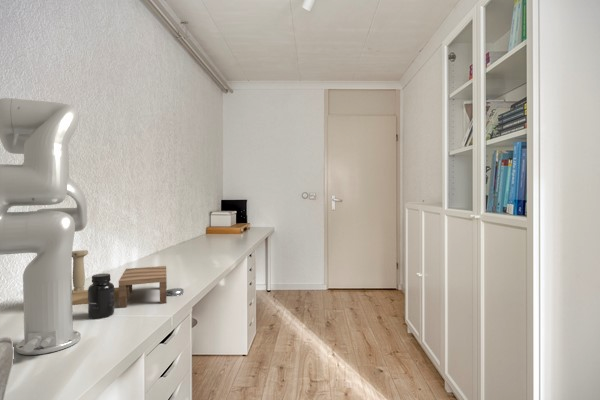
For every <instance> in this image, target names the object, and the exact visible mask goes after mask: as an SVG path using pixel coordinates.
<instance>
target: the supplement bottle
mask: <svg viewBox="0 0 600 400" xmlns="http://www.w3.org/2000/svg"><path fill="white" fill-rule="evenodd" d="M114 288H115V286H114V283H112V282H111V274H110V273H95V274H93V275H91V284H90V285H89V286H88V288H87V290H88V304H87V314H88V315H87V316H88V317H89V318H90V319H105V318H109V317H111V316H113V315H114V313H115V301H114Z"/></svg>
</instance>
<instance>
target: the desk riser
mask: <svg viewBox="0 0 600 400" xmlns="http://www.w3.org/2000/svg"><path fill="white" fill-rule="evenodd" d="M154 283H155V284H157V283H159V304H160V305H162V304H167V296H166V290H168V289H167V286H168V285H167V284H168V283H167V265H159V266H148V267H146V266H145V267H144V266H143V267H134V268H133V267H131V268H130V267H129V268H125V270H124V272H122V275H121V276H120V279H119V280H118V287H119V301H118V308H119V309H123V308H127V306H128V304H127V301H128V300H127V290H126V287H129V294H130V293H133V285H134V286H135V285H143V284H144V285H146V284H154Z"/></svg>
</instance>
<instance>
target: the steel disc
mask: <svg viewBox="0 0 600 400" xmlns="http://www.w3.org/2000/svg"><path fill="white" fill-rule="evenodd" d="M184 291H185V290H184V288H178V287H175V288H169V289H166V297H178V296H177V295H179V296H182V295H184V294H185V292H184ZM183 293H184V294H183ZM181 294H182V295H181Z"/></svg>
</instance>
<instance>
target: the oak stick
mask: <svg viewBox="0 0 600 400" xmlns="http://www.w3.org/2000/svg"><path fill="white" fill-rule="evenodd" d="M126 290H127V301H130V293H129V287H126ZM114 302H119V286H118V287H114ZM78 305H88V289H84V290H83V291H74V290H72V306H78Z"/></svg>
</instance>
